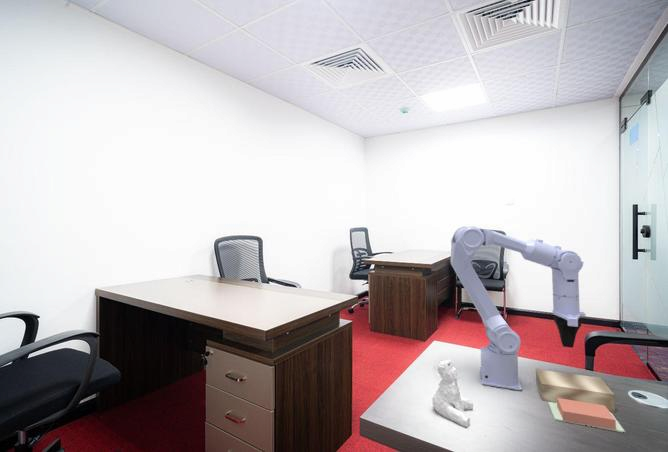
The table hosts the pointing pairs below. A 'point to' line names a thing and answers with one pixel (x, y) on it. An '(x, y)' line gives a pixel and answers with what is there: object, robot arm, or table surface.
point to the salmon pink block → (586, 413)
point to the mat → (558, 417)
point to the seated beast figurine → (451, 396)
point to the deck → (574, 388)
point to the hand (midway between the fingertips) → (567, 346)
